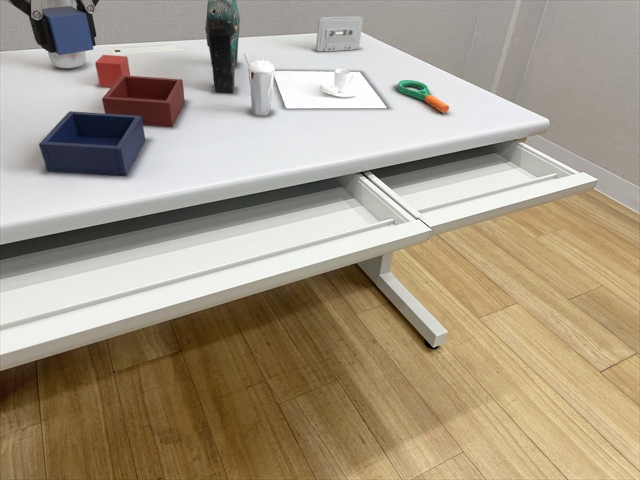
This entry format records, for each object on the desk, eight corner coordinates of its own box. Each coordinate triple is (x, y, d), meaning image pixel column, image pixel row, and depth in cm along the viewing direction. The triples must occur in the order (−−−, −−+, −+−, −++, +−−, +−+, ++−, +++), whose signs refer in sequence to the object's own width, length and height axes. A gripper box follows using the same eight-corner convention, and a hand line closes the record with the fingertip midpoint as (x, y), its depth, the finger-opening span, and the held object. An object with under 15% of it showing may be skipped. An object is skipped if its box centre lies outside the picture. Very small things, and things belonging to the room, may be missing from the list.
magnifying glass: (392, 86, 102) (393, 78, 101) (415, 84, 104) (417, 76, 103) (431, 115, 92) (433, 106, 91) (456, 112, 94) (458, 104, 93)
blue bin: (47, 171, 65) (38, 143, 62) (75, 136, 73) (69, 111, 71) (126, 175, 66) (121, 148, 63) (145, 140, 74) (141, 115, 71)
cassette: (318, 52, 116) (320, 18, 112) (314, 49, 118) (317, 16, 113) (360, 49, 121) (364, 17, 116) (356, 47, 122) (360, 15, 118)
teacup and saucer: (321, 99, 93) (323, 78, 91) (314, 84, 99) (315, 64, 97) (364, 99, 95) (367, 79, 93) (354, 84, 101) (356, 65, 99)
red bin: (106, 123, 78) (101, 98, 75) (125, 97, 86) (121, 74, 83) (172, 127, 79) (169, 102, 76) (184, 101, 87) (182, 79, 84)
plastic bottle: (45, 66, 95) (13, -50, 82) (76, 58, 99) (50, -52, 87) (64, 74, 92) (34, -44, 80) (95, 66, 97) (71, -47, 84)
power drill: (237, 97, 91) (235, -20, 78) (203, 95, 90) (195, -24, 77) (244, 62, 106) (242, -40, 94) (214, 60, 105) (209, -43, 93)
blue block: (59, 55, 60) (49, 17, 58) (44, 46, 63) (34, 9, 60) (93, 49, 63) (86, 13, 60) (78, 41, 65) (70, 5, 63)
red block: (99, 86, 89) (94, 62, 86) (107, 78, 93) (102, 54, 90) (124, 88, 89) (120, 64, 87) (131, 79, 93) (127, 56, 90)
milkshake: (248, 105, 88) (248, 49, 82) (276, 109, 88) (278, 54, 81) (240, 114, 85) (239, 57, 78) (269, 119, 84) (270, 62, 78)
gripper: (-53, -129, 45) (11, 66, 56) (117, -120, 55) (142, 44, 66) (-76, -135, 48) (-12, 49, 60) (87, -125, 58) (115, 30, 70)
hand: (68, 45), depth 63 cm, fingers closed on blue block, 4 cm apart
